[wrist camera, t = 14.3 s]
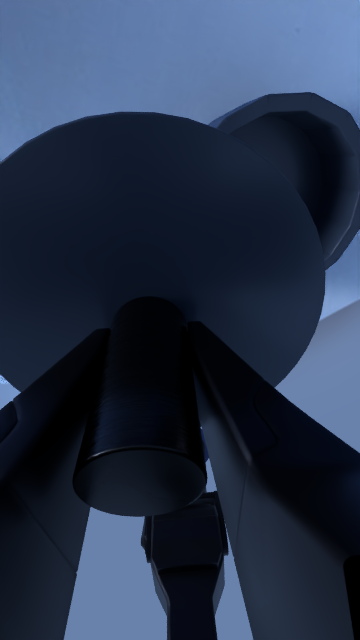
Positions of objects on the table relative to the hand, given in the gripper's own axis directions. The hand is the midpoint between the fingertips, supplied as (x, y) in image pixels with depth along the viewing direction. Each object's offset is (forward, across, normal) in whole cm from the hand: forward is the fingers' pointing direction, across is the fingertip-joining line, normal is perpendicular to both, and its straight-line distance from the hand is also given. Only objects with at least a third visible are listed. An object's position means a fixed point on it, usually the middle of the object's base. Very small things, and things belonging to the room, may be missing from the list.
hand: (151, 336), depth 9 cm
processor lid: (+1, 0, 0) cm, 1 cm away
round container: (+13, -7, -1) cm, 15 cm away
